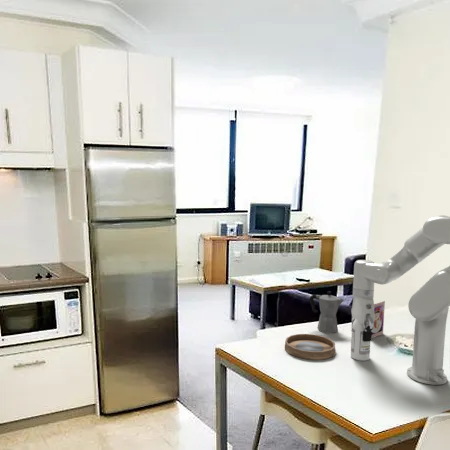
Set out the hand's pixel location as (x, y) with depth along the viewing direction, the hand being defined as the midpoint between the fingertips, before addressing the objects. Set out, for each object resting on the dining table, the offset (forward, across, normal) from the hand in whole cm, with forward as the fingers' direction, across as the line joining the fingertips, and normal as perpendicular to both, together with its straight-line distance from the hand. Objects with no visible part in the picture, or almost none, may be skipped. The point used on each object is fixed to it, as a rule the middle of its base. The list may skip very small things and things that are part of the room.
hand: (361, 336), depth 161 cm
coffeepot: (+9, +32, +2) cm, 33 cm away
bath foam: (+8, 0, 0) cm, 8 cm away
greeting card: (+9, +24, -16) cm, 30 cm away
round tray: (+8, +9, +17) cm, 21 cm away
